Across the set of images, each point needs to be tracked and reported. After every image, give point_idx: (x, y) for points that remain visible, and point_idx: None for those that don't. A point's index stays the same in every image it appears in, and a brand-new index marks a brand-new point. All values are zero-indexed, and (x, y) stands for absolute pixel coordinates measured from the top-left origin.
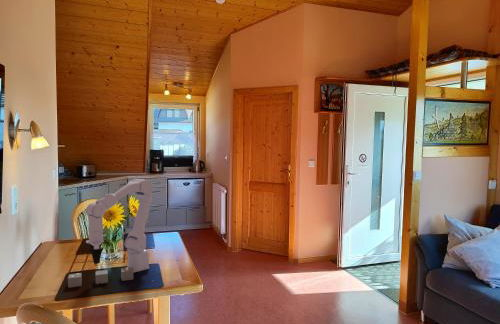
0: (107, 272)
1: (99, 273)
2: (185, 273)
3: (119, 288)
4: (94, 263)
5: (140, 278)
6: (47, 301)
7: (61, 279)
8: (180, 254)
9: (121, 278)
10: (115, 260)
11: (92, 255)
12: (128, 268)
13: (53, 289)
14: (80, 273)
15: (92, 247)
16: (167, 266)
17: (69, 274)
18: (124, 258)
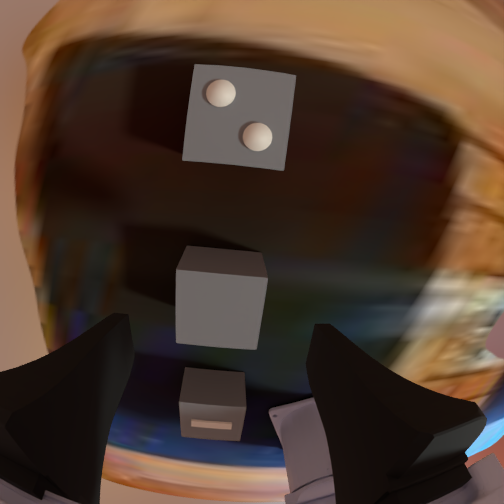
0: (202, 344)
1: (203, 298)
2: (187, 490)
3: None
4: (110, 318)
5: None
6: (65, 16)
7: (375, 65)
8: None
9: (211, 371)
10: (466, 347)
11: (36, 362)
12: (226, 428)
13: (218, 10)
14: (271, 161)
15: (371, 419)
16: (276, 478)
17: (290, 78)
18: (458, 375)
